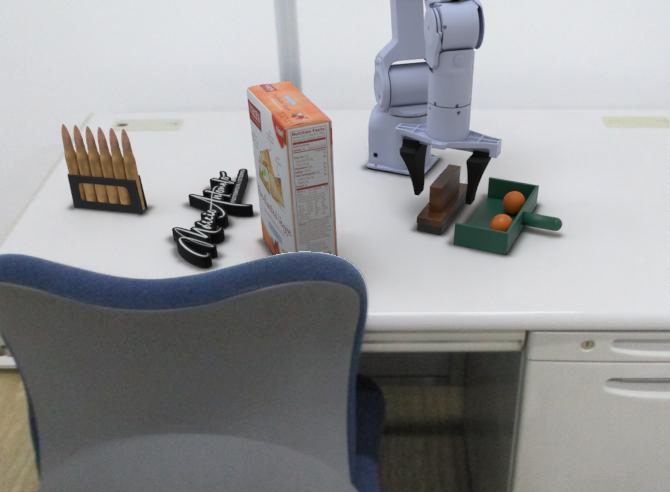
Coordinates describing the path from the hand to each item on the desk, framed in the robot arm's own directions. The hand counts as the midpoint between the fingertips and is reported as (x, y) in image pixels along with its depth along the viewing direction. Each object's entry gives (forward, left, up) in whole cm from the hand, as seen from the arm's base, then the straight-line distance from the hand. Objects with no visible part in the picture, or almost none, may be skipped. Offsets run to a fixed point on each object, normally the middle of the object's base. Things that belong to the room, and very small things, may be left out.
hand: (444, 197), depth 118 cm
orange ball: (+9, +4, -1) cm, 10 cm away
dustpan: (+11, 0, -3) cm, 11 cm away
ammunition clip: (-45, -17, -3) cm, 48 cm away
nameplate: (-29, -14, -3) cm, 32 cm away
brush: (0, 0, -3) cm, 3 cm away
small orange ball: (+10, -4, -1) cm, 10 cm away
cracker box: (-13, -20, -3) cm, 24 cm away
